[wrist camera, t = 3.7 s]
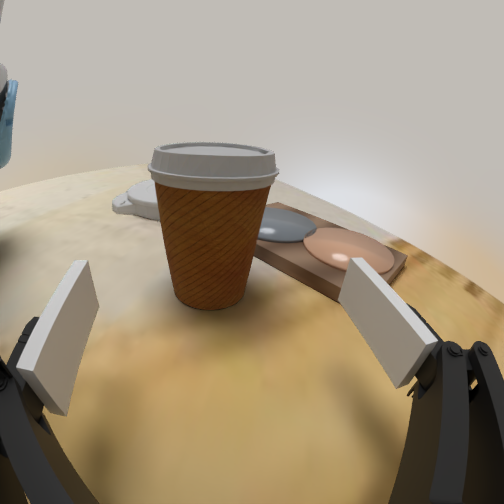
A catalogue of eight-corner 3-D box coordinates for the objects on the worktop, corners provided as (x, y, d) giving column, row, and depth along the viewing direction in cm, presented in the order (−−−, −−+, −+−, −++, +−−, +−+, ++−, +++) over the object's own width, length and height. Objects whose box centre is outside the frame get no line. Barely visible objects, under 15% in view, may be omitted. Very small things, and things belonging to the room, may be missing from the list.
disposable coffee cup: (250, 336, 19) (271, 163, 14) (136, 306, 20) (120, 153, 15) (270, 271, 27) (286, 149, 22) (182, 254, 29) (183, 140, 23)
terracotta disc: (283, 243, 30) (284, 240, 30) (332, 224, 37) (332, 221, 37) (373, 288, 23) (374, 284, 23) (403, 255, 30) (404, 252, 30)
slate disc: (212, 219, 34) (212, 216, 34) (270, 205, 42) (270, 202, 41) (278, 252, 28) (279, 248, 28) (331, 230, 35) (332, 227, 35)
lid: (121, 193, 48) (120, 178, 47) (220, 190, 54) (221, 176, 52) (101, 228, 34) (99, 207, 32) (240, 222, 39) (241, 202, 38)
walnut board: (206, 229, 35) (207, 218, 34) (276, 211, 44) (277, 202, 44) (362, 315, 22) (368, 302, 21) (403, 265, 31) (407, 255, 30)
